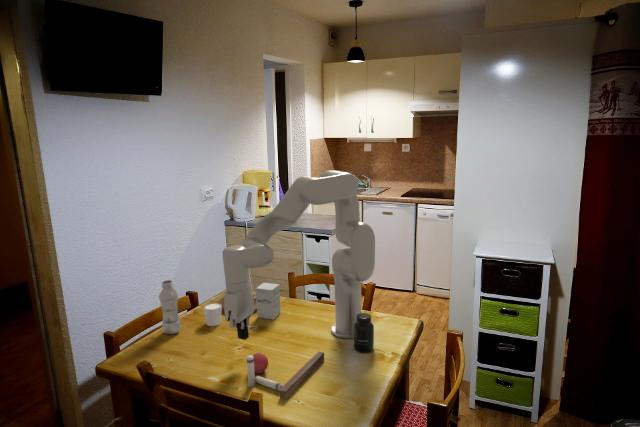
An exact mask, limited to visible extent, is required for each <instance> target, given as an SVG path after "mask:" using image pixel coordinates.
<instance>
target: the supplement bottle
mask: <svg viewBox="0 0 640 427" xmlns="http://www.w3.org/2000/svg"><path fill="white" fill-rule="evenodd" d="M374 332H375V326H374V323H372V316H371V314H370V313H366V312H361V313H360V314H358V315H357V322H355V324H354V338H353V349H354V350H355V351H356V352H357V353H360V354H368V353H370V352H372V351H373V350H374V347H375V346H374V341H375V334H374Z"/></svg>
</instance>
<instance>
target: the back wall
mask: <svg viewBox="0 0 640 427" xmlns="http://www.w3.org/2000/svg"><path fill="white" fill-rule="evenodd" d="M324 361H325V352H324V351H320V350H319V351H317V352H316V353H315V354H314V355H313V356H312V357H311V358H310V359H309V360H308V361H307V362H306V363H305V364H304V365H303V366H302V367H301V368H300V369H299V370H298V371H297V372H296V373H295V374H294V375H293V376H292V377H291V378H290V379H289V380H288V381H287V382H286V383H284V384H283V387H282V388H281V389H280V390H279V391H278V392H279V399H282V398H284V399H283V400H285V399H286V400H287V399H288V398H289V397H290V396H292V394H293V393H294V392H295V391H296V390H297V389H298V388H299V387H300V386H301V384H302V383H304V381H305V380H307V378H308V377H309V376H311V374H312V373H313V372H314V371H315V370H316V369H317V368H318V367H319V366H320V364H322V363H323V362H324Z"/></svg>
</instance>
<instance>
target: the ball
mask: <svg viewBox="0 0 640 427" xmlns="http://www.w3.org/2000/svg"><path fill="white" fill-rule="evenodd" d="M252 356H253V357H254V373H255V374H261V373H263V372H265V371H266V370H267V369H268V367H269V359H268V357H267V356H266V355H265V354H264V353H262V352H256V353H254V354H252Z"/></svg>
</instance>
